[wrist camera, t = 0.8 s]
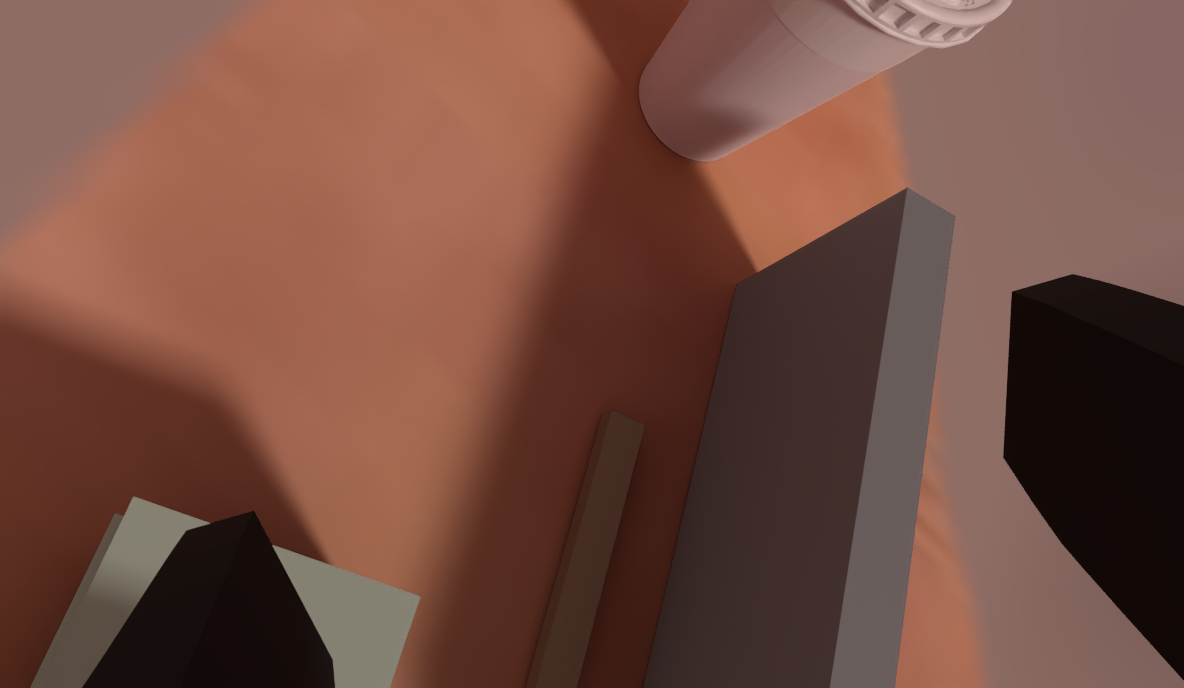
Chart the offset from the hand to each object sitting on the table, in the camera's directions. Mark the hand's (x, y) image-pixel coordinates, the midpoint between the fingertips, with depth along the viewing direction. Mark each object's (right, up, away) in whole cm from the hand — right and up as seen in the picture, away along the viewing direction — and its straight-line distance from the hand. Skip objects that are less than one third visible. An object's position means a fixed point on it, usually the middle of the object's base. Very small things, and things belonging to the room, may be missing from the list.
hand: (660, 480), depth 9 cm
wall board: (+1, -5, +15) cm, 16 cm away
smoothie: (+2, +8, +21) cm, 23 cm away
